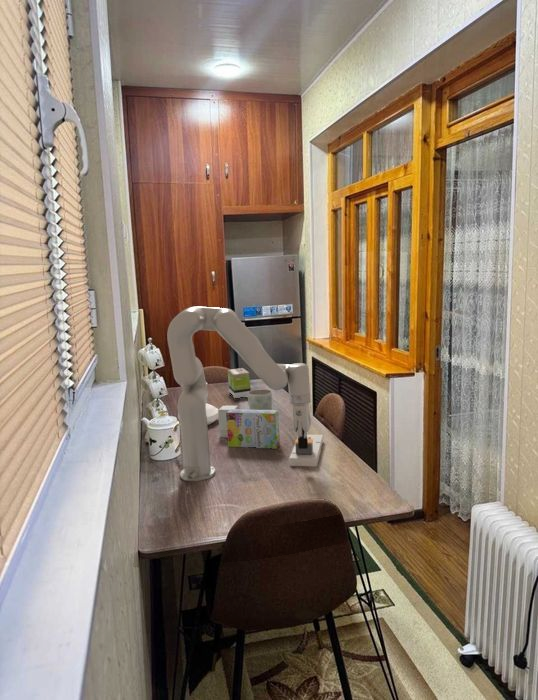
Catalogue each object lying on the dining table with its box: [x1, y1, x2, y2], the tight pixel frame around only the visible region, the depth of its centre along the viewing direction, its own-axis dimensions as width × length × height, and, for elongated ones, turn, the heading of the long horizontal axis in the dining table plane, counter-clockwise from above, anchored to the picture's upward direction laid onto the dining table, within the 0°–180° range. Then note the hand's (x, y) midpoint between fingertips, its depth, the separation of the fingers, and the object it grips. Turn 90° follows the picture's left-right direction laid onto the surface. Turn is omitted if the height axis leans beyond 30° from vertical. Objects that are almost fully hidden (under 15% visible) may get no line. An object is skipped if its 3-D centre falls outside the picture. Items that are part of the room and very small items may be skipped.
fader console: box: [289, 434, 324, 467], centre depth 193 cm, size 26×10×3 cm, turn 169°
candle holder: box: [177, 381, 219, 426], centre depth 239 cm, size 20×20×19 cm
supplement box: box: [218, 405, 239, 438], centre depth 219 cm, size 7×7×13 cm
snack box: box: [226, 408, 281, 450], centre depth 203 cm, size 21×6×15 cm, turn 74°
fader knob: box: [294, 438, 313, 454], centre depth 185 cm, size 4×6×5 cm, turn 79°
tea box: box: [227, 367, 252, 399], centre depth 288 cm, size 15×10×15 cm, turn 17°
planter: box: [247, 388, 273, 410], centre depth 250 cm, size 12×12×11 cm
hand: (303, 447), depth 177 cm, fingers closed
